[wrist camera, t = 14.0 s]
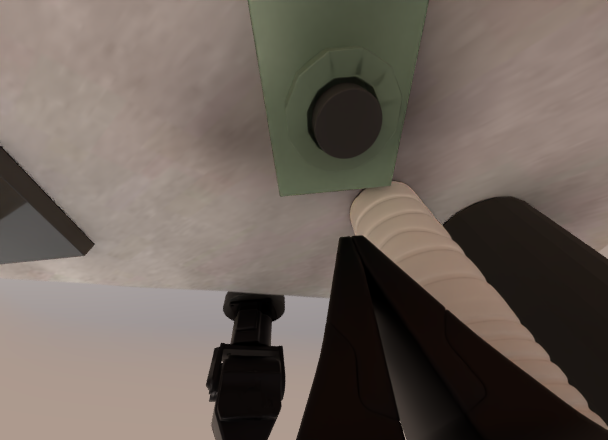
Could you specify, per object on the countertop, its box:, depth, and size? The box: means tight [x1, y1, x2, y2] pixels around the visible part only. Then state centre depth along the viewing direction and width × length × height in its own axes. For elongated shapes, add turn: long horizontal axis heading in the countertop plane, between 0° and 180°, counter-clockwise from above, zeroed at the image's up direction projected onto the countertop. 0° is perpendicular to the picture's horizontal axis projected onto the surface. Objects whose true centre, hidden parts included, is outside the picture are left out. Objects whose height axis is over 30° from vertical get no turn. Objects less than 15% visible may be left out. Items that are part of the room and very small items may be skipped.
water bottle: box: [350, 181, 608, 430], centre depth 13 cm, size 9×6×25 cm
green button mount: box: [248, 0, 429, 197], centre depth 14 cm, size 12×9×4 cm
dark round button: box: [312, 83, 383, 159], centre depth 12 cm, size 4×4×2 cm
